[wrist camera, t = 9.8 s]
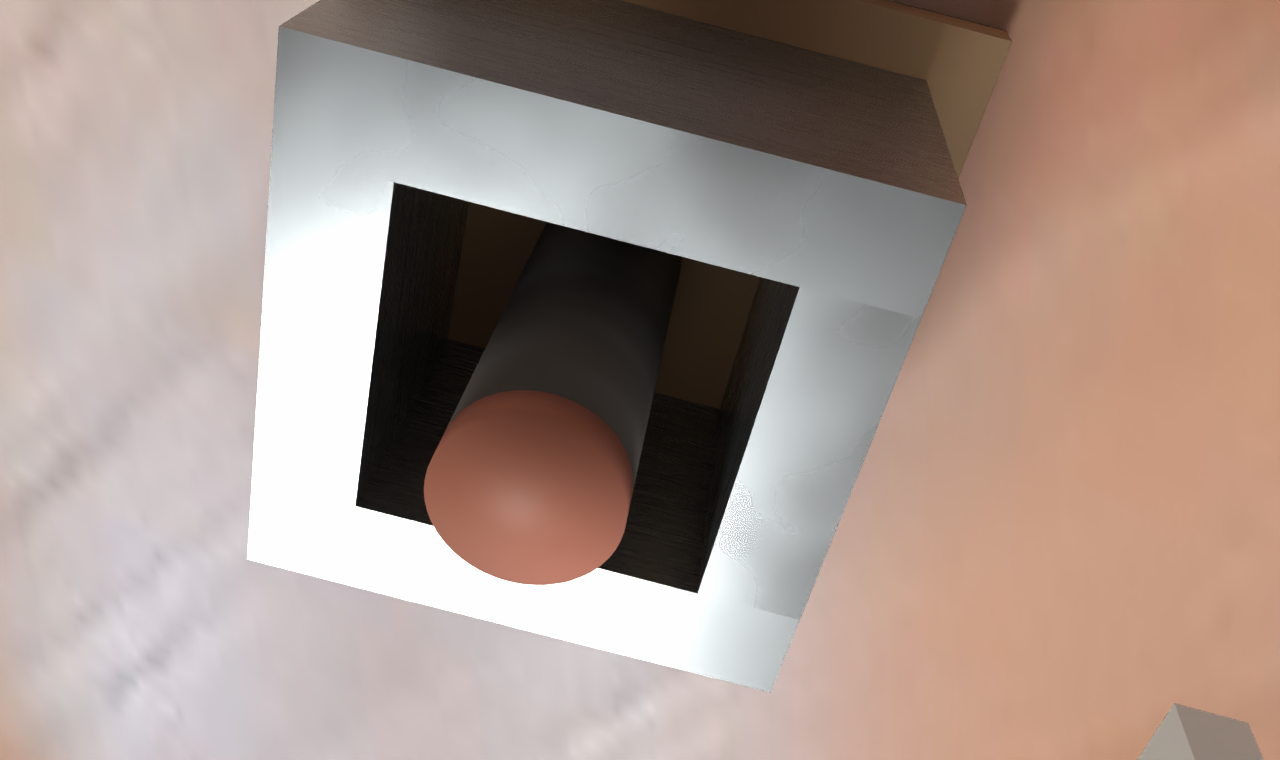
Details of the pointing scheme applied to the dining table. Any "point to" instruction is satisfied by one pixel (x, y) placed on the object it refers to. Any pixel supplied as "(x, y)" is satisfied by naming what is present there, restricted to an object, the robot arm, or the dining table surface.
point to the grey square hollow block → (611, 207)
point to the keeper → (631, 318)
